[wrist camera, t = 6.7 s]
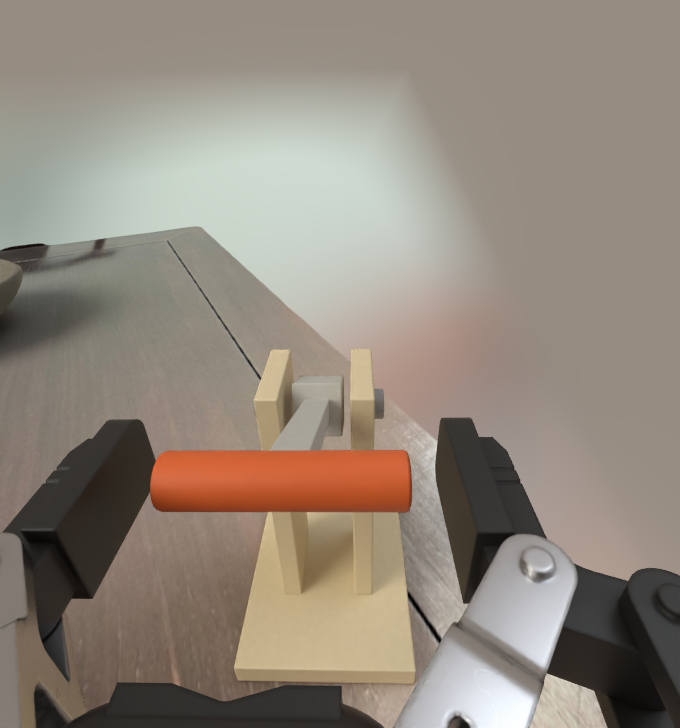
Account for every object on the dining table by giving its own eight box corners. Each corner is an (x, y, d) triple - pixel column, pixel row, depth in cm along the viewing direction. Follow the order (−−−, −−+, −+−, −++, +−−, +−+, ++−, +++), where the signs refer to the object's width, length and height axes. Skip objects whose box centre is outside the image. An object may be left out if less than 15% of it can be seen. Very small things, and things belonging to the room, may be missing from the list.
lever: (412, 544, 10) (412, 439, 9) (150, 542, 10) (145, 440, 10) (381, 422, 22) (381, 374, 22) (264, 422, 22) (262, 376, 22)
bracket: (414, 684, 22) (440, 465, 14) (237, 681, 22) (171, 465, 14) (395, 499, 32) (404, 316, 24) (274, 498, 32) (247, 318, 25)
